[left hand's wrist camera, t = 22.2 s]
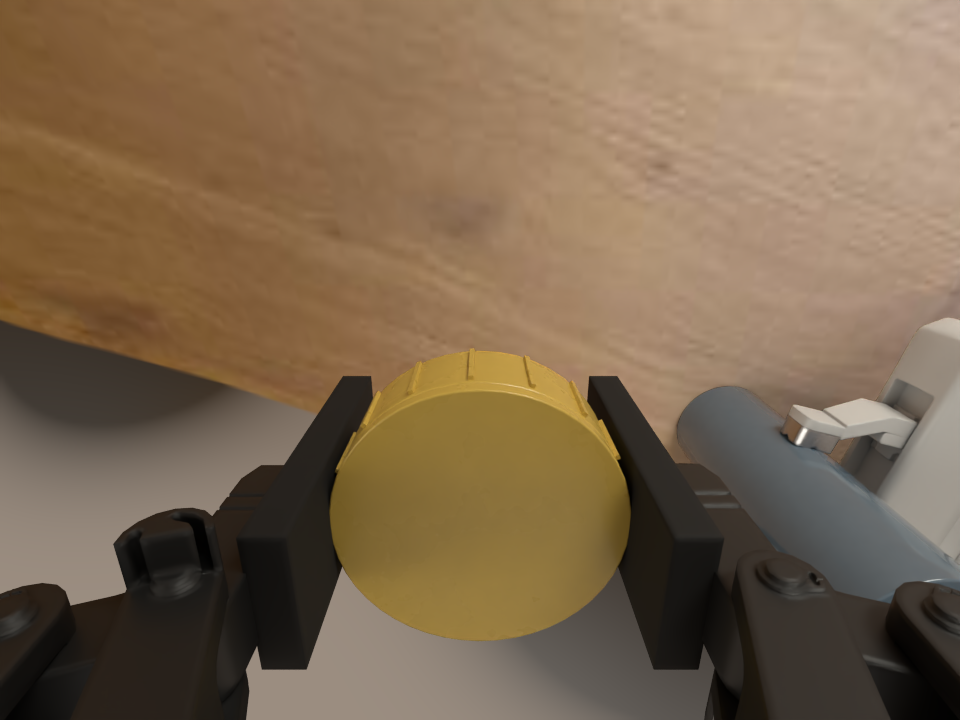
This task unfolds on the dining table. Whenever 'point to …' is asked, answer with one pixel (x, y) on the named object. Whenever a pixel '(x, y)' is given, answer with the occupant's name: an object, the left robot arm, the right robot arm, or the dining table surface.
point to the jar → (808, 499)
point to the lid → (480, 499)
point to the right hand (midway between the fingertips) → (760, 484)
